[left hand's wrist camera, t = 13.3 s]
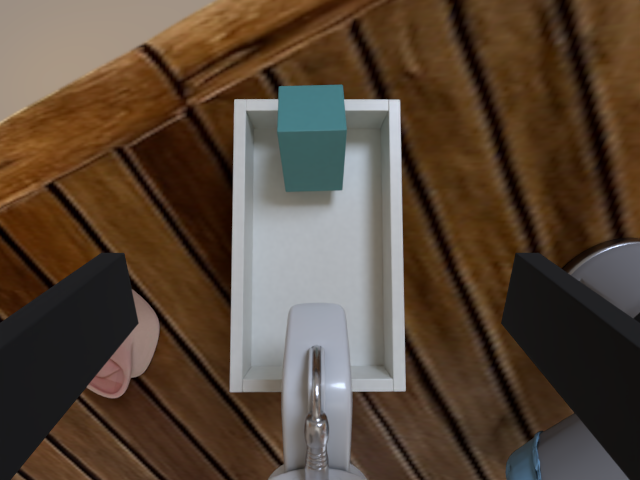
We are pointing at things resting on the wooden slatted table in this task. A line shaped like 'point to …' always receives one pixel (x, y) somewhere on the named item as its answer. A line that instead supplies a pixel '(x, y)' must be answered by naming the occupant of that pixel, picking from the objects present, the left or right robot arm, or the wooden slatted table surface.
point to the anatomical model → (129, 354)
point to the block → (312, 137)
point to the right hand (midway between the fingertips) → (317, 371)
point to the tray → (318, 248)
